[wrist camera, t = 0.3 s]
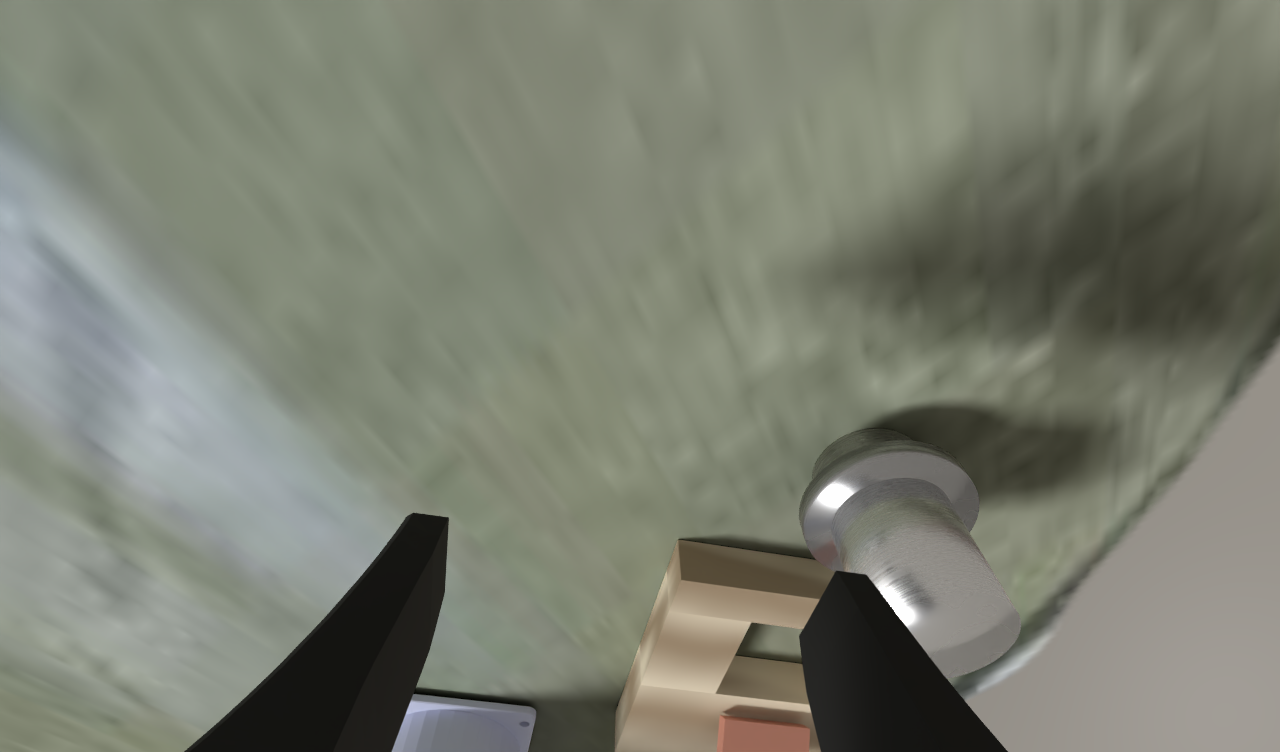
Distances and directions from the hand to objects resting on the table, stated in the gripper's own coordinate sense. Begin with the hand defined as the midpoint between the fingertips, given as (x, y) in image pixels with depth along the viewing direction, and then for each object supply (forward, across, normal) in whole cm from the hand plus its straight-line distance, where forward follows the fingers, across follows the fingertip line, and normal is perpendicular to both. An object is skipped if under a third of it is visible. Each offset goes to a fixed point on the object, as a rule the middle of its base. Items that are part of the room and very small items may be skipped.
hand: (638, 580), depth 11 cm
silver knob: (+10, -10, +4) cm, 14 cm away
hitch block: (+10, -8, +16) cm, 20 cm away
